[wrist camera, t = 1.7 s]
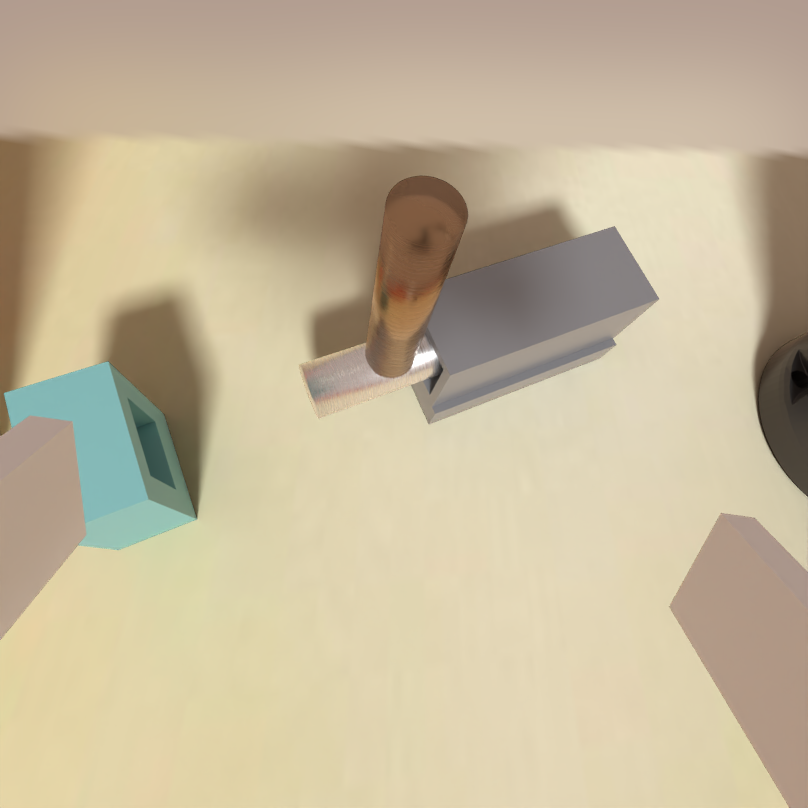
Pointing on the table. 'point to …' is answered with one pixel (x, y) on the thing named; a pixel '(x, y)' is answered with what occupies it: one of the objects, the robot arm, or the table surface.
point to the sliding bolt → (396, 300)
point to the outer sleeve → (530, 320)
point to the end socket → (113, 454)
